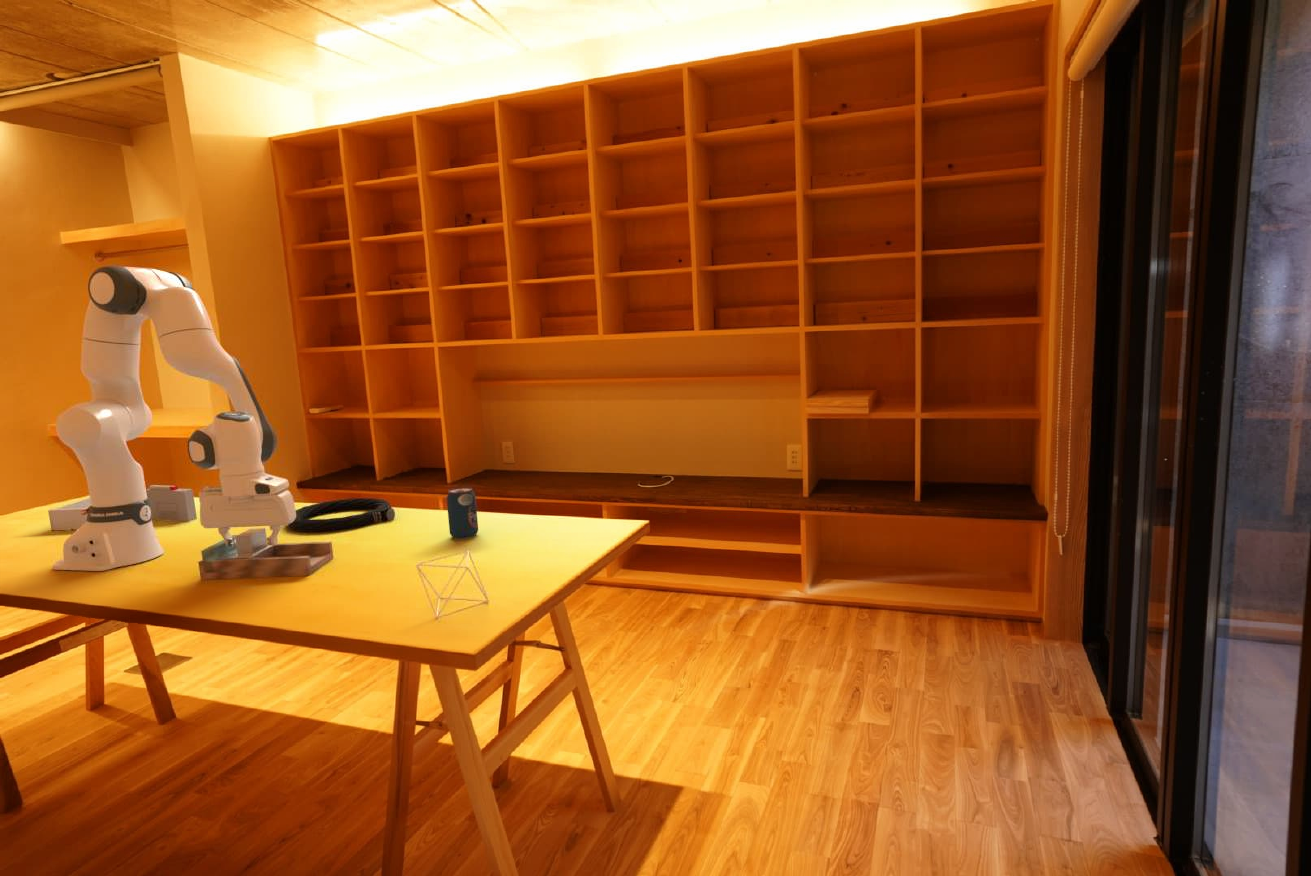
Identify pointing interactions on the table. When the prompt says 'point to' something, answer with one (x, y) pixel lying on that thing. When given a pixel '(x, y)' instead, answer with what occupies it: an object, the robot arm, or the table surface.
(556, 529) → the table surface
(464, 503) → the soda can
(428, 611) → the table surface
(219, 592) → the table surface
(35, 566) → the table surface
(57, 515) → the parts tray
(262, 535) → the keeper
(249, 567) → the drawer
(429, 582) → the geometric polyhedron
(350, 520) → the cable lock
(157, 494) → the cassette player
